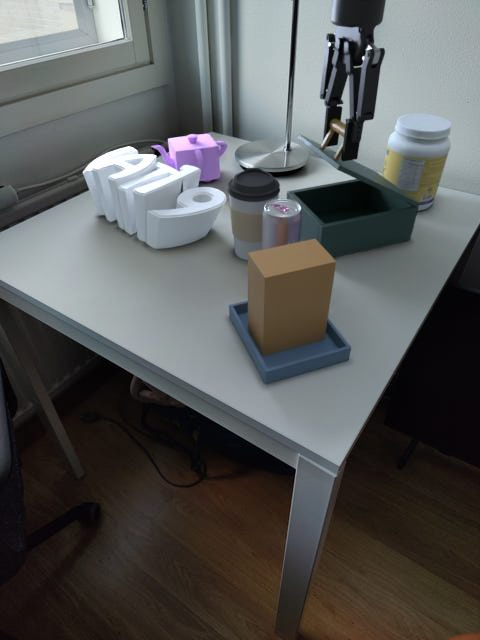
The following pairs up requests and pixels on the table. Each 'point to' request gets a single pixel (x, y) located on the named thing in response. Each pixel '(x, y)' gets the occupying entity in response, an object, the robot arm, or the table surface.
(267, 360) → the tray
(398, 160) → the supplement tub
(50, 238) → the table surface
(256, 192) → the coffee cup
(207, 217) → the white letter sculpture
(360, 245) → the box
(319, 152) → the lid
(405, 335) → the table surface
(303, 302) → the packet
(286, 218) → the beverage can
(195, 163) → the teapot
